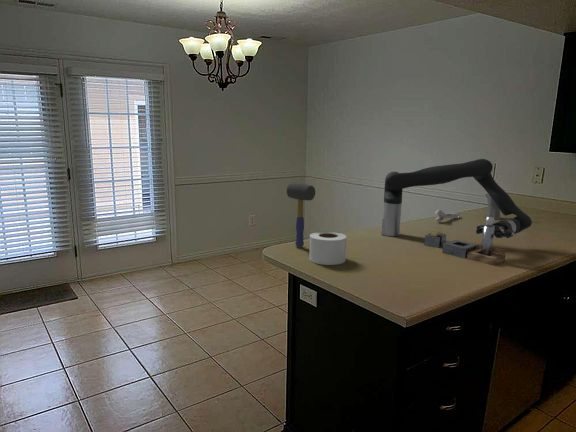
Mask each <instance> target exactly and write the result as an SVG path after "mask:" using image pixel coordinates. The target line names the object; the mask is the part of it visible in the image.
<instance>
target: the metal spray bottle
mask: <svg viewBox="0 0 576 432" xmlns="http://www.w3.org/2000/svg"><path fill="white" fill-rule="evenodd" d="M494 221H495V220H494V217H486V218H485V224H483V225H484V227H483V233H482V237H481V253H480V254H483V255H487V256H491V255H492V247H494V230H495V227H494V226H493V224H494V223H495V222H494Z"/></svg>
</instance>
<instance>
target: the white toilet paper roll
mask: <svg viewBox="0 0 576 432" xmlns="http://www.w3.org/2000/svg"><path fill="white" fill-rule="evenodd" d="M347 237H348V236H347V235H346V234H343V233H341V232H333V231H319V232H318V231H317V232H313V233H310V234H309V261H310V262H312V263H314V264H318V265H323V266H336V265H342V264H344V263H346V257H347V256H346V255H347Z"/></svg>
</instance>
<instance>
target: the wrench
mask: <svg viewBox="0 0 576 432" xmlns="http://www.w3.org/2000/svg"><path fill="white" fill-rule="evenodd" d="M434 215H436V216H437V217H436V218H434V220H435V221H436V222H437V223H439V222H440V224H441V223H442V221H443V220H444V219H459V218H460V216H461V214H459V213H444V212H443V211H442V209H436V210H435V212H434Z"/></svg>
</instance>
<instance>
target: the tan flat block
mask: <svg viewBox="0 0 576 432" xmlns="http://www.w3.org/2000/svg"><path fill="white" fill-rule="evenodd" d="M442 234H447V226H442V225H440V226H438V227H435V228H433V229H431V230H430V236H435V237H439V236H440V235H442Z"/></svg>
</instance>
